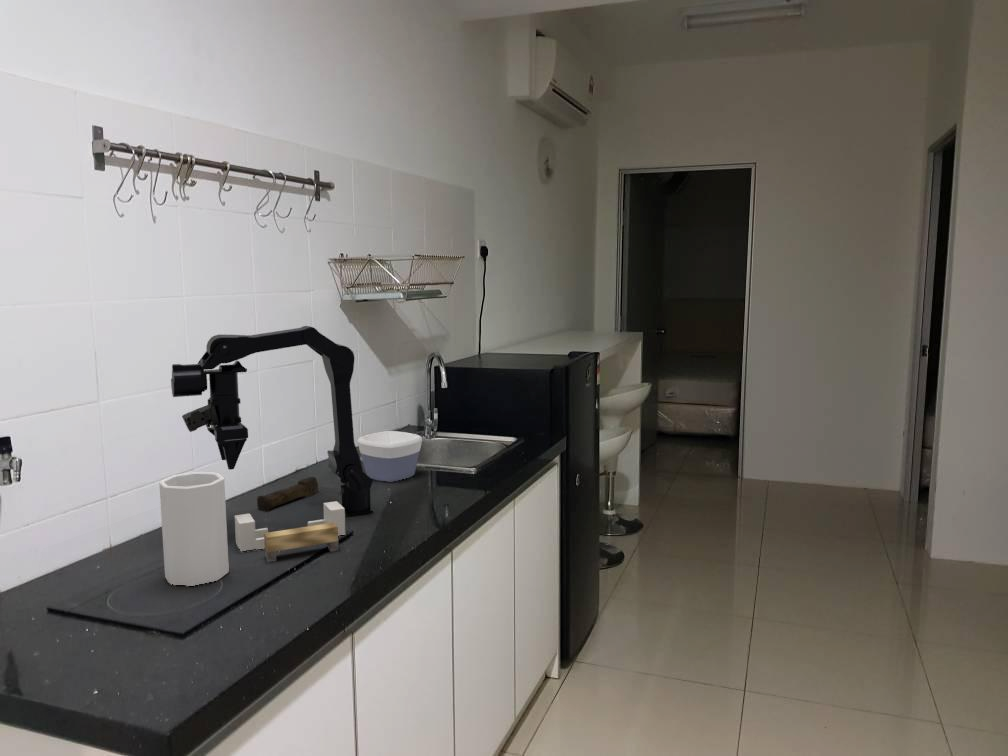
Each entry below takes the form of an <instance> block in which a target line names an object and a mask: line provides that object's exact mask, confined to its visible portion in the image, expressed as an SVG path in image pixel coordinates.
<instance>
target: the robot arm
mask: <svg viewBox="0 0 1008 756" xmlns="http://www.w3.org/2000/svg"><path fill="white" fill-rule="evenodd" d="M304 345H306V346H307V347H309V349H311V350H313V351H314V352H315V353H316V354H317V355H320V356H321V358H322V362H323V368H324V370H325V373H326V375H327V378H328V381H329V383H330V392H331V405H332V406H331V407H332V417H333V418H332V419H333V429H334V430H333V431H334V446H333V449H332V450H327V452H326V453H327V458H328V464H327V465H328V466H327V467H328V468H329V469H330V470H331V472H332V474H333V475H335V476H336V477H337V478H338V479H339V481H340V483H342V484H341V485H340V491H339V492H338V503H339V504H340V505H341V506H342V507H344V508H345V517H346V516H347V517H349V516H355V515H363V514H368V513H373V512H374V509H373V508H372V505H371V488H372V485H373V483H374V481H373V480H374V479H371V478H370V477H369V476H367V474H366V472H364V468H363V464H362V460H361V455H360V454H359V451H358V449H357V447H356V444H355V438H354V435H355V433H354V423H353V408H352V407H353V406H352V395H351V380H352V378H353V374H354V368H355V353H354V352H353V350H352V349H351V348H350V347H349V346H346V345H344V344H339V343H336V342H334V341H332V340H331V339H330V338H328V337H327V336H325V335H324V334H322V333H321V332H319V331H318V329H317V328H315V327H313V326H309V325H304V326H301V327H296V328H290V329H284V330H278V331H277V330H276V331H271V332H263V333H257V334H251V335H250V334H249V335H245V334H216V335H215V334H214V335H213V336H211V337H210V338H209V340H207V344H206V351H205V352H204V354H203V355H202V356H201V358H200V359H199V360H198V362H197V363H196V364H194V363H192V364H190V363H189V364H182V363H181V364H180V363H175V364H172V365H171V378H170V387H171V394H172V398H180V397H182V398H183V397H193V396H194V397H196V396H203V393H205V391H207V390H208V380H209V396H210V397H208V399H207V404H206V405H204V406H202V407H199V408H196V409H193V410H191V411H188V412H186V413H185V414H182V416H181V417H182V420H183V421H184V424H185V426H186V428H187V430H188V431H189V432H190V433H191V432H195V431H197V430H198V429H199V428H202V427H204V426H206V429H207V431H208V432H209V433H210V434H211V435H213V436H214V440H215V442H216V444H217V447H218V451H219V455H220V459H221V460H222V461H225V462H226V465H227V469H228V470H229V471H230V470H234V469H235V468H236V465H237V462H238V460H239V458H240V455H241V452H242V450H243V448H244V445H245V443H246V442H247V440H248V438H249V428H247V426H246V425H244V424H243V423H242V417H241V416H240V405H241V398H240V397H239V379H238V374H239V373H247V371H248V369H247V368H246V367H244V366H243V365H242V364H241V362H240V361H239V360H241V359H244V358H246V357H248V356H250V355H254V354H257V353H262V352H267V351H274V350H281V349H286V348H293V347H299V346H304ZM233 362H234V363H233ZM228 363H229V364H228ZM230 363H233V364H230ZM217 367H218V368H217ZM216 368H217V369H216ZM207 375H208V376H209V377H208V376H207ZM207 377H208V378H209V379H208V378H207Z"/></svg>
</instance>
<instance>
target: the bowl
mask: <svg viewBox="0 0 1008 756" xmlns="http://www.w3.org/2000/svg"><path fill="white" fill-rule="evenodd" d="M422 443H423V437H422V436H421V435H419V434H415V433H412V432H411V433H410V432H406V431H396V430H387V431H380V432H375V433H374V432H373V433H370V434H367V435H363V436H360V437H359V438H358V439H357V445H358V449H359V453H360V457H361V459H362V460H361V461H362V462H363V467H364V470H365V474H366V475H367V476H369V477H370V478H371V479H372V480H375V481H380V482H385V481H386V483H393V482H394V481H395V482H400V481H403V480H402V479H404V480H407V479H410V478H411V477H413V476H415V473H416V469H417V465H418V460H419V457H420V451H421V447H422ZM406 478H407V479H406ZM399 480H400V481H399Z"/></svg>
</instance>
